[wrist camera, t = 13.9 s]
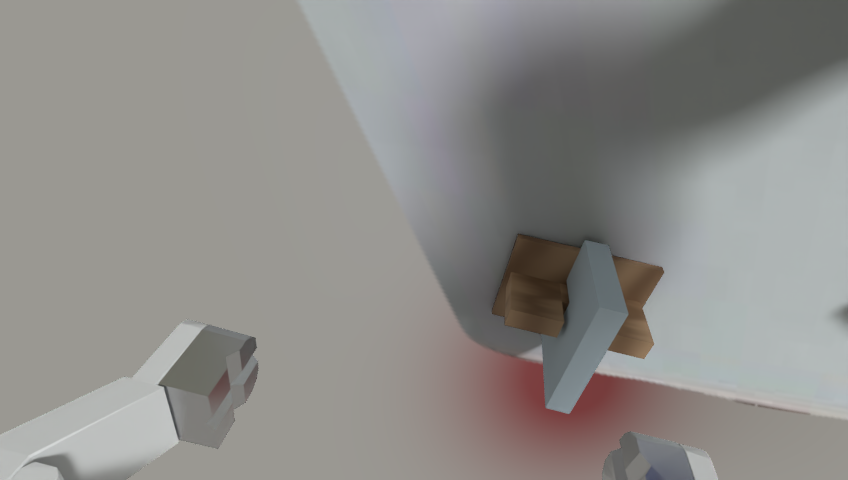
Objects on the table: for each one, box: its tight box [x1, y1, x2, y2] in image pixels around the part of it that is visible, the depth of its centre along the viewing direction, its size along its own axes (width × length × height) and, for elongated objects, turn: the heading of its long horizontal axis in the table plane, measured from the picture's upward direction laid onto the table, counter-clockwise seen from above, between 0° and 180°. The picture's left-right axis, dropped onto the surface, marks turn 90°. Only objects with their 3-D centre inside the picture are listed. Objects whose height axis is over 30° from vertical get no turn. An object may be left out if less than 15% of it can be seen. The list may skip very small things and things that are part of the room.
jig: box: [492, 234, 664, 359], centre depth 47 cm, size 15×11×7 cm
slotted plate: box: [542, 240, 628, 414], centre depth 45 cm, size 14×2×10 cm, turn 171°
